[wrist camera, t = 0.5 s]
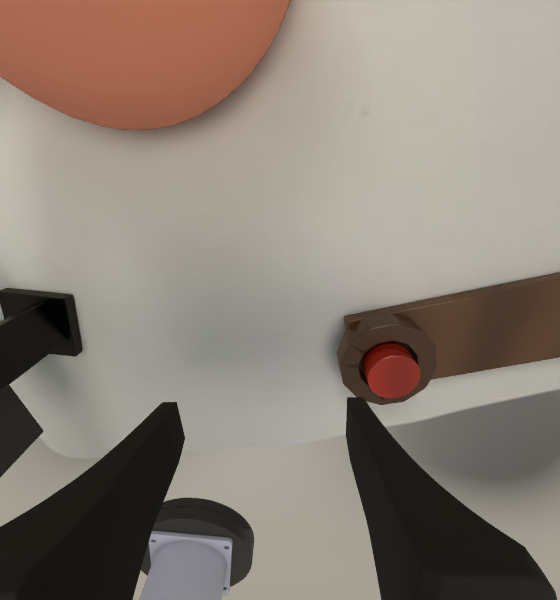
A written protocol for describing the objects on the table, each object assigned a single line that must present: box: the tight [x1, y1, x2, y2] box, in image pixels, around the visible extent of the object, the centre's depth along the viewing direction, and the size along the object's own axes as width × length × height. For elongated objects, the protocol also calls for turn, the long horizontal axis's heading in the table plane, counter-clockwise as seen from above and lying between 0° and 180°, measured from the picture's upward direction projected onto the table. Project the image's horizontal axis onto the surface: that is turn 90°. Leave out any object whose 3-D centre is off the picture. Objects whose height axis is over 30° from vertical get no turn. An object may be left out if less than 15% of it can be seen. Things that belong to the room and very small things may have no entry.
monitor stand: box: [0, 288, 82, 391], centre depth 19 cm, size 5×5×7 cm
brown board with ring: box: [337, 273, 560, 405], centre depth 20 cm, size 19×6×2 cm, turn 104°
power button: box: [362, 343, 420, 398], centre depth 20 cm, size 3×3×2 cm
